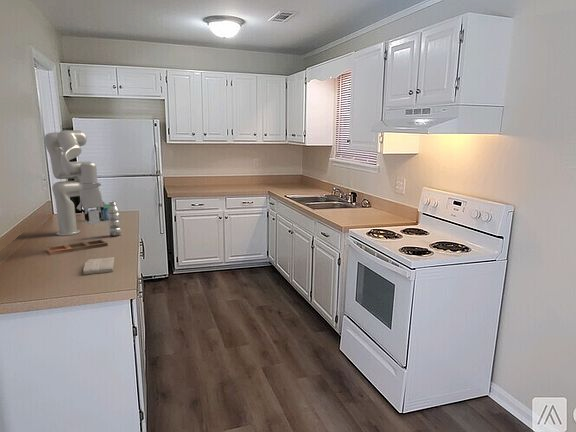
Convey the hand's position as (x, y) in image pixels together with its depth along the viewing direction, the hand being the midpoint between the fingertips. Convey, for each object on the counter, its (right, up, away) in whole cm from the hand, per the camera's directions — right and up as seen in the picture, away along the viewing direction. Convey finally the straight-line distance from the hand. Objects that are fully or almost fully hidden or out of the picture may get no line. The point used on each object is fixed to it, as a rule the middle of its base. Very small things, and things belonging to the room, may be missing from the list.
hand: (93, 219), depth 215 cm
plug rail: (-6, -15, -3) cm, 16 cm away
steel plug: (0, -2, 0) cm, 2 cm away
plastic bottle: (+2, -10, +24) cm, 26 cm away
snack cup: (-25, -1, +73) cm, 77 cm away
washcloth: (+20, -21, -36) cm, 47 cm away
